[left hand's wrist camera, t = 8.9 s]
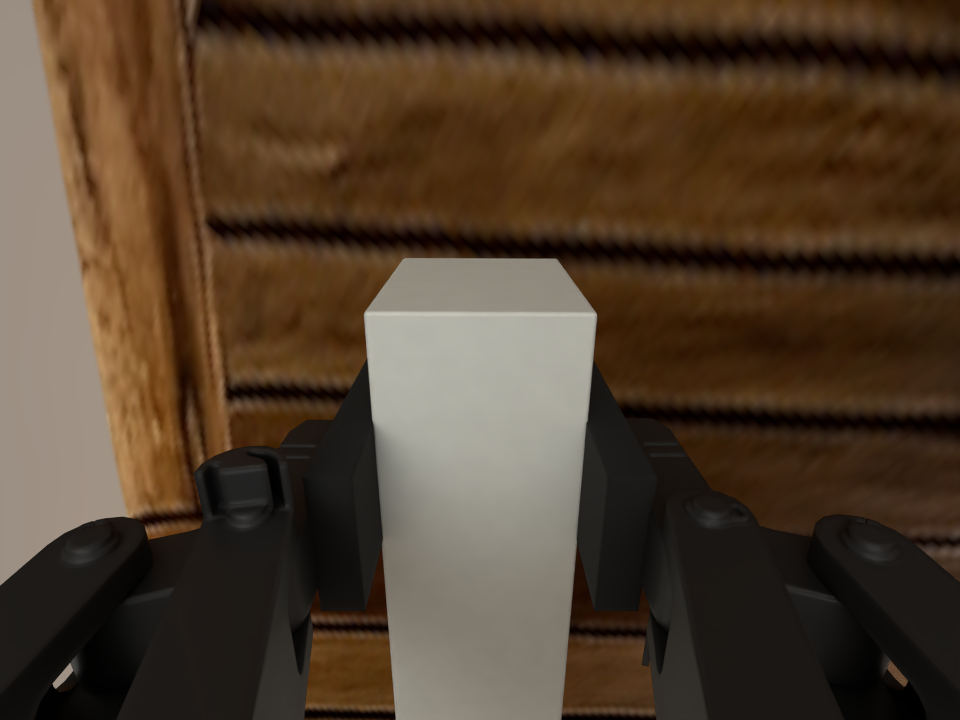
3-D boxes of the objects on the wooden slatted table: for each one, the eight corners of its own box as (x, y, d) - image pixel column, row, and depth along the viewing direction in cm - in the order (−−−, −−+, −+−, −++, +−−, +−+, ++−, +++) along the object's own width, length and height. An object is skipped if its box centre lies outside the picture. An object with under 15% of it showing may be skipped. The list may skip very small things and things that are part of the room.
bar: (557, 258, 14) (598, 312, 9) (524, 824, 22) (536, 1001, 18) (402, 257, 14) (362, 312, 9) (430, 824, 22) (417, 1001, 18)
